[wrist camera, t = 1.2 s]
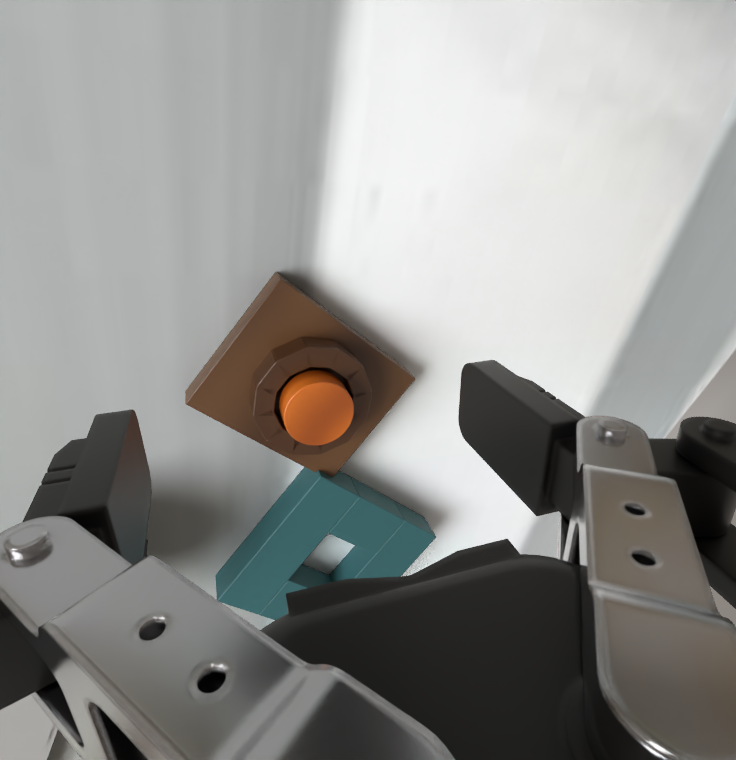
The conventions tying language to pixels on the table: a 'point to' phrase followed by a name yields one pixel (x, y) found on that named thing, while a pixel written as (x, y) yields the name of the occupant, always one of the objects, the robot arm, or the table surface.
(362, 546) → the teal square frame
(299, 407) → the power button
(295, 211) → the table surface
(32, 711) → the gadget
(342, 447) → the switch box
